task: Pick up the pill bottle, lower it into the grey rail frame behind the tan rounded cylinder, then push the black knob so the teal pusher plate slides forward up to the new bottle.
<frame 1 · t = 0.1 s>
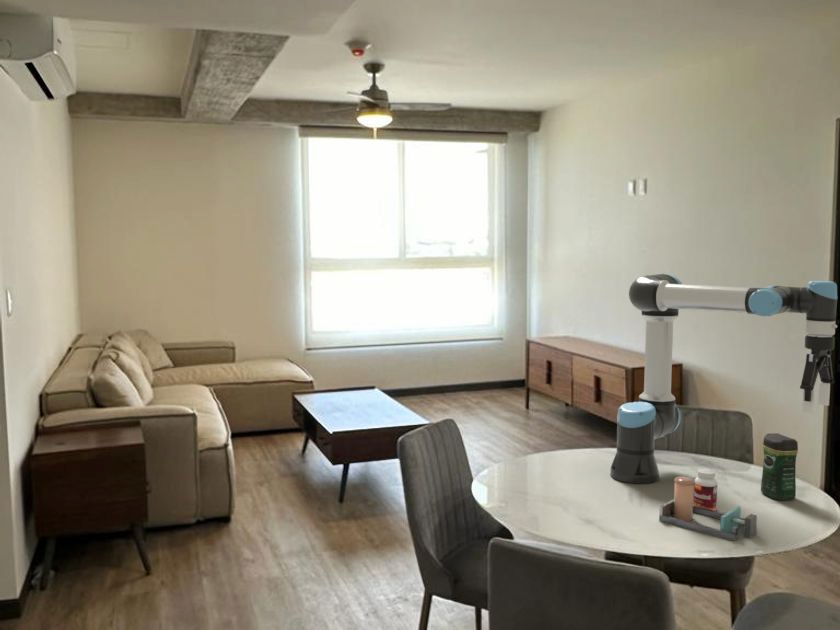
hand: (815, 408, 224), 28 cm above the table, fingers open, 13 cm apart
tan rounded cylinder: (683, 517, 215), resting in grey rail frame
grey rail frame: (707, 523, 210), on the table
pill bottle: (704, 509, 222), on the table
coffee jar: (777, 496, 233), on the table
pusher plate: (741, 523, 203), point 2 cm above the table, slide at 6.3 cm
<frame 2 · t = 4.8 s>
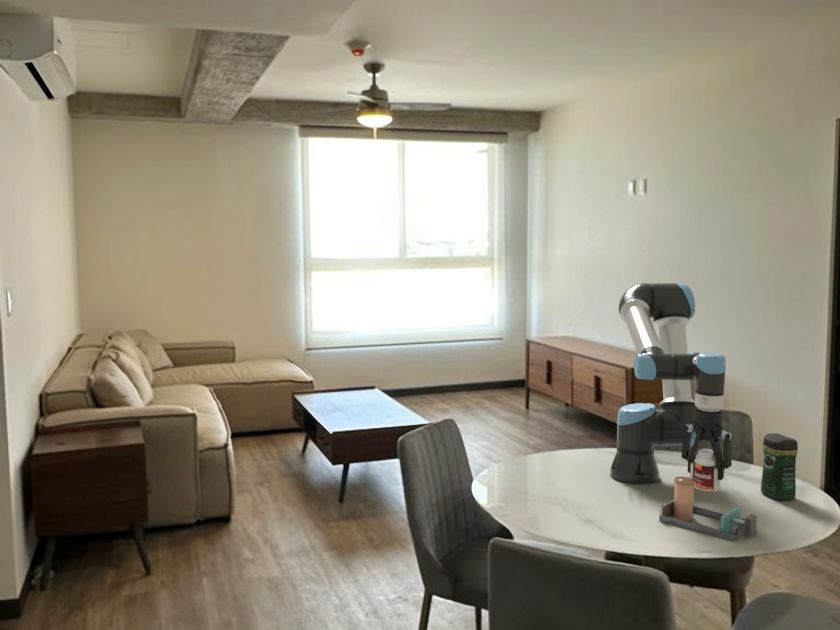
hand: (704, 487, 222), 6 cm above the table, fingers closed on pill bottle, 6 cm apart
pill bottle: (704, 488, 222), point 6 cm above the table, touching gripper
everything else where it was.
when the fingers open (1 cm above the table, at t = 9.3 s): pill bottle drops 1 cm, resting in grey rail frame.
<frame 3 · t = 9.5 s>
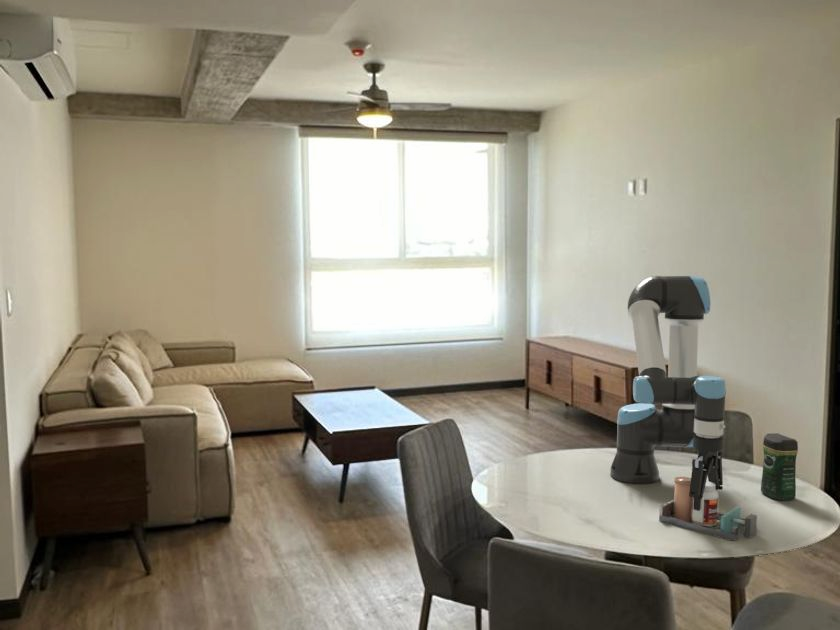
hand: (705, 516, 210), 2 cm above the table, fingers open, 8 cm apart
pill bottle: (704, 523, 210), resting in grey rail frame
everything else where it was.
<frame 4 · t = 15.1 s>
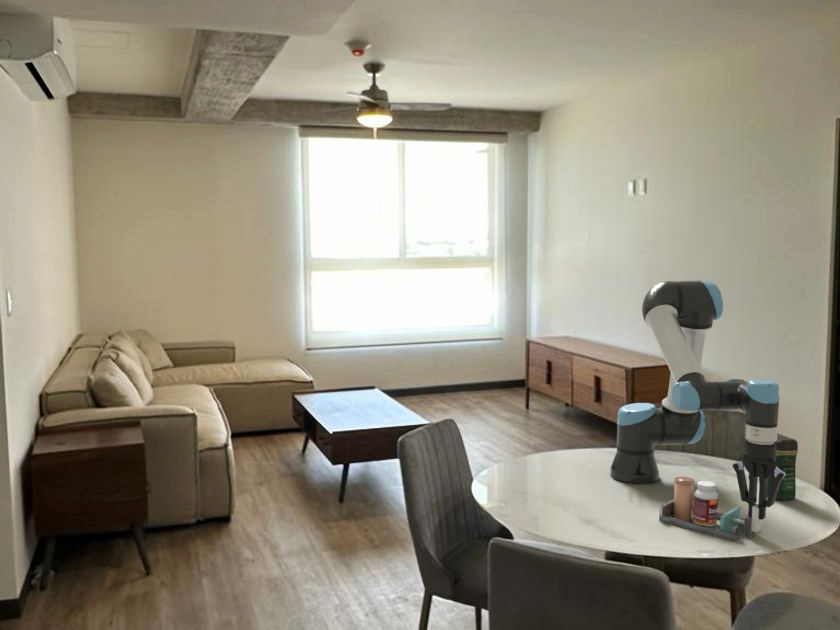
hand: (756, 530, 201), 2 cm above the table, fingers closed
pusher plate: (740, 523, 203), point 2 cm above the table, slide at 6.2 cm, touching gripper
everything else where it was.
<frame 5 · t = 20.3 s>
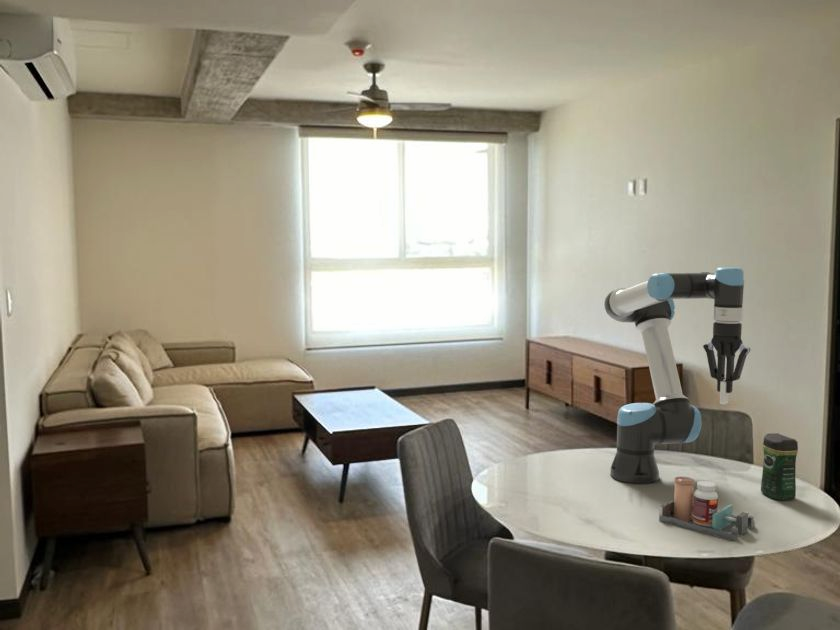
hand: (724, 403, 224), 29 cm above the table, fingers closed
pusher plate: (732, 521, 205), point 3 cm above the table, slide at 4.1 cm
everything else where it was.
at the end: pill bottle inside the target area on the grey rail frame (0.5 cm from its centre), point 0.0 cm above the grey rail frame's base; pill bottle tilted 0°; pusher plate slide at 4.1 cm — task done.
